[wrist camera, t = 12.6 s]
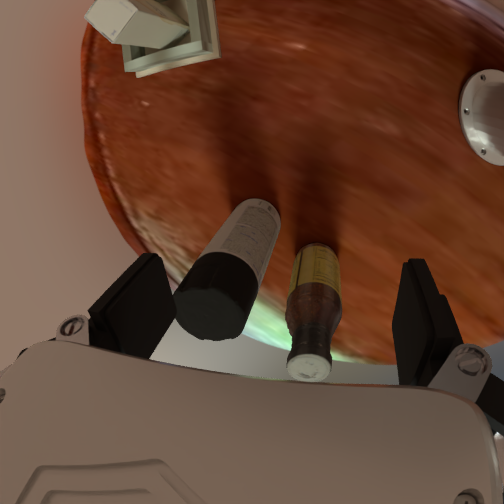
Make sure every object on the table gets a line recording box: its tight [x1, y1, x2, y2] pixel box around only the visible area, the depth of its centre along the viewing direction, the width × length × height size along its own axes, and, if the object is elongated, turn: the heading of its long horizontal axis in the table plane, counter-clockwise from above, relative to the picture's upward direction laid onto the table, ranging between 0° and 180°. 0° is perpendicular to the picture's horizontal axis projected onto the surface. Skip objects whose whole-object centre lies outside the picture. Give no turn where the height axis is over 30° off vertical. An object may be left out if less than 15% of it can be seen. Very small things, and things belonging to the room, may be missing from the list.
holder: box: [122, 0, 222, 78], centre depth 29 cm, size 12×12×4 cm
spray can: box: [173, 199, 281, 341], centre depth 33 cm, size 7×7×20 cm
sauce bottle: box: [285, 243, 342, 382], centre depth 34 cm, size 6×6×20 cm
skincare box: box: [84, 0, 190, 50], centre depth 25 cm, size 6×4×12 cm
